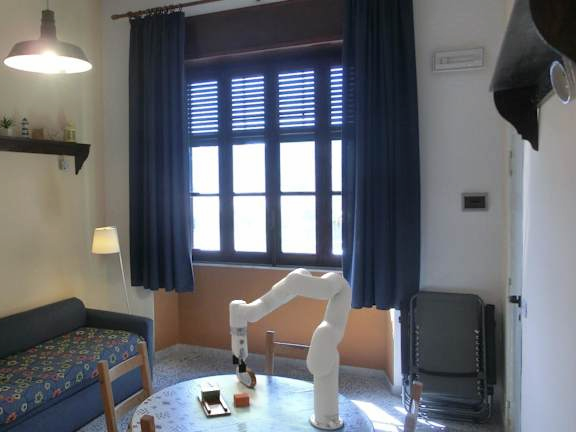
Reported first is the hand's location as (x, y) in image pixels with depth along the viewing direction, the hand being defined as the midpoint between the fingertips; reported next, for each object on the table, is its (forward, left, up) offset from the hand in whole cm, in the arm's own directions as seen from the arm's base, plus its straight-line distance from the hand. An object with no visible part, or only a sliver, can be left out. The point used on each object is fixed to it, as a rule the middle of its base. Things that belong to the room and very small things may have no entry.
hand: (239, 368), depth 217 cm
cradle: (+1, +12, -16) cm, 20 cm away
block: (-1, 0, -16) cm, 16 cm away
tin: (+19, -8, -16) cm, 26 cm away
